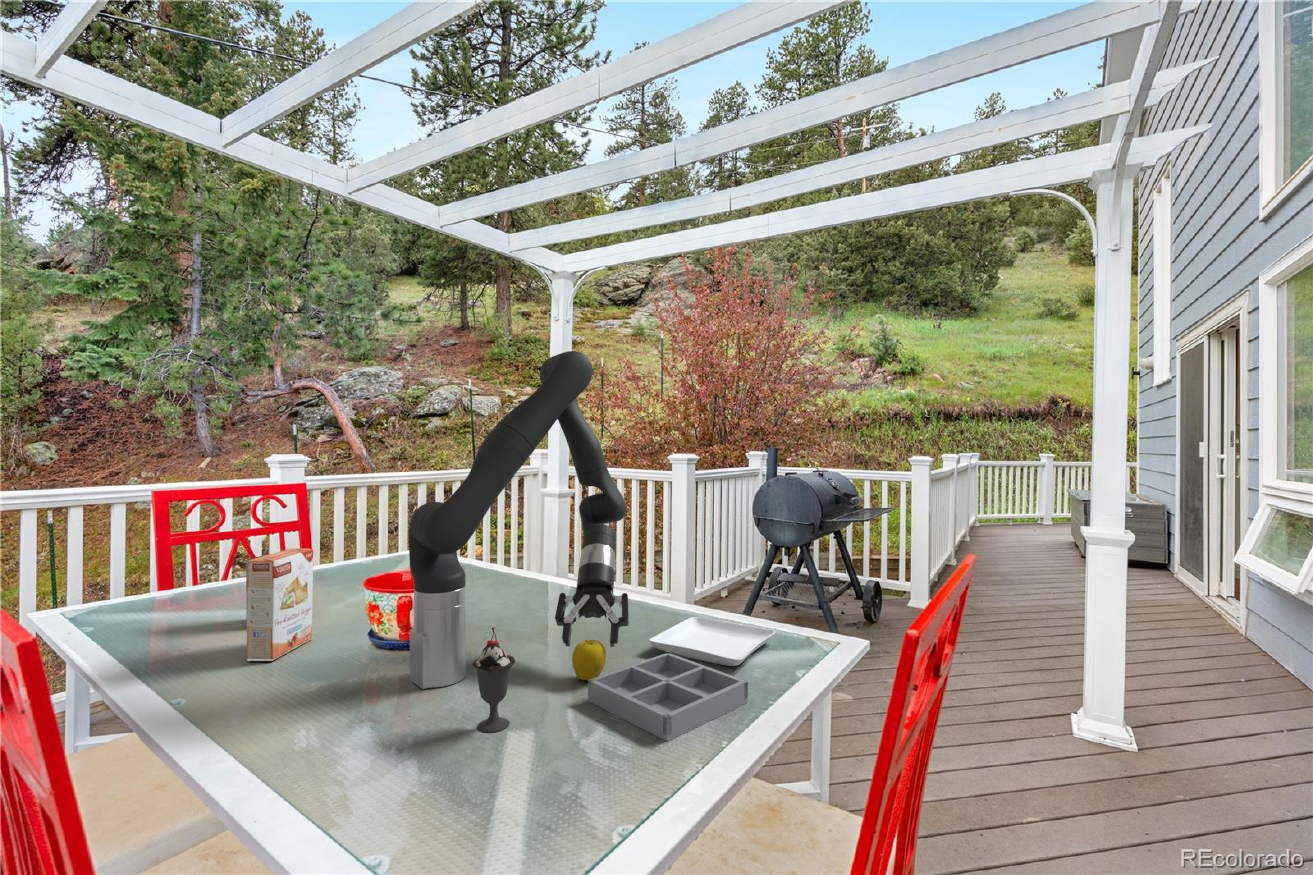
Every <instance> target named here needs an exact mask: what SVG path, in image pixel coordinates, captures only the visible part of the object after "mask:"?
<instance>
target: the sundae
mask: <svg viewBox="0 0 1313 875" xmlns="http://www.w3.org/2000/svg"><path fill="white" fill-rule="evenodd" d="M491 630H492V637H491V639H489V640H487V642H486V646H484V648H482V649H481V653H480V656H478V657H477V658H476V659H475V660H474V661H472V664H471V667H473V668H475V670H476V674H477V680H478V690H479V694H480V698H481V699H482V700H483V701H484V702H485V703H487V704H488V705H489V715H488V718H485V719H484V720H482V721H480V722H479V723H478V724H477V729H478V730H479V731H481V732H482V733H488V734H489V733H490V734H491V733H492V734H493V733H498V732H502V731H504V730H505V729H507V728H509V726H510V724H511V722H510V721H509V718H505V717H501V716H499V712H498V708H499V707H498V706H499V703H500V702H502V700H504V698H505V697H506V696H507V693H508V692H507V691H508V687H509V680H510V672H511V667H512V666H513V665H515V664H516V659H515V657H514V656H513V655H510V654H507V653H506V651H505V650H504V649H503V648H502V647H501V646H500V642H499V641H497V640H498V639H497V634H496V631H495V627H494V626H493V627H491ZM494 637H495V640H493V639H494Z"/></svg>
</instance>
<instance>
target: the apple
mask: <svg viewBox="0 0 1313 875" xmlns="http://www.w3.org/2000/svg"><path fill="white" fill-rule="evenodd" d="M571 655H572V656H571V661H572V662H571V663H572V668H573V670H574V673H575V675H576V677H577V679H579V680H582V681H588V680H590V679H593V678H596V677H598V676H601V672H602V671H603V670H604V668H605V665H606V662H607V661H606V660H607V654H606V648H605V647H604V644H602V642H600V641H599V640H594V639H587V640H586V639H585V640H584V641H582V642H581V641H580V642H579V643H578V644H577V645H576V646H575V648H574V649H573V651H572V654H571Z"/></svg>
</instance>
